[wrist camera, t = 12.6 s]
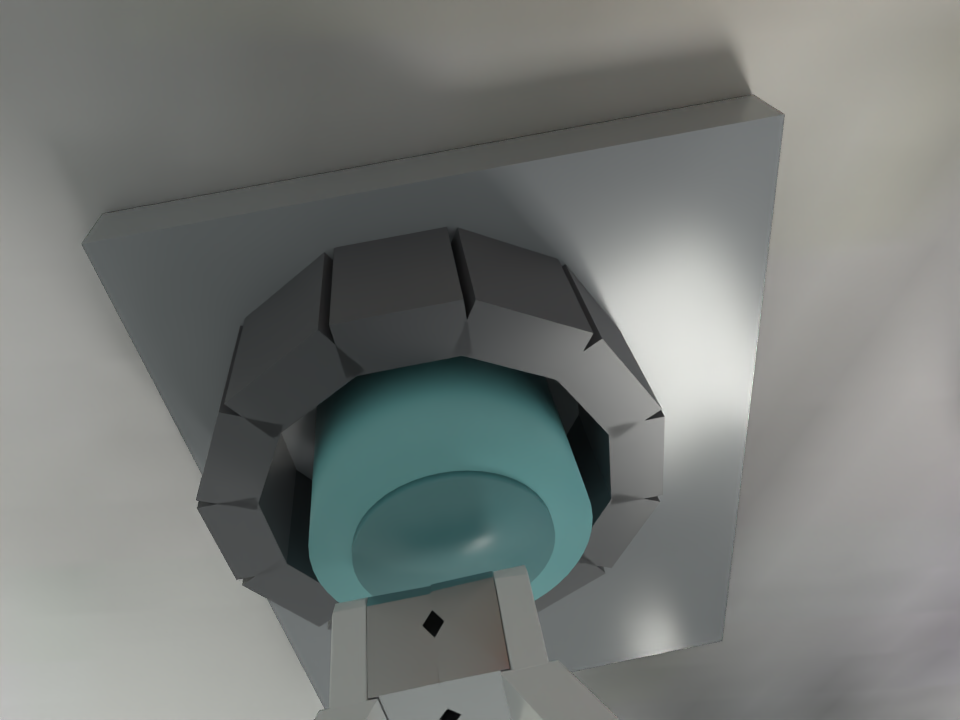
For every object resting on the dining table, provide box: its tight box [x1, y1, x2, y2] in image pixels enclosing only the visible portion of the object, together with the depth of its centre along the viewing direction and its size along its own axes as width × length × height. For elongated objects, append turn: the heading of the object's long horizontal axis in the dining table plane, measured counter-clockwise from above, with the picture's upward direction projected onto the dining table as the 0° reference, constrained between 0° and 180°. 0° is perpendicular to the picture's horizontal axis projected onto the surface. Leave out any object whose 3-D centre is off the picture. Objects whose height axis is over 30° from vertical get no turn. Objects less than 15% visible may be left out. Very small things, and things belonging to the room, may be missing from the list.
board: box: [82, 95, 785, 709], centre depth 17 cm, size 16×12×1 cm
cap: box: [308, 356, 593, 603], centre depth 13 cm, size 5×5×4 cm
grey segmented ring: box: [196, 227, 665, 630], centre depth 14 cm, size 8×8×2 cm
